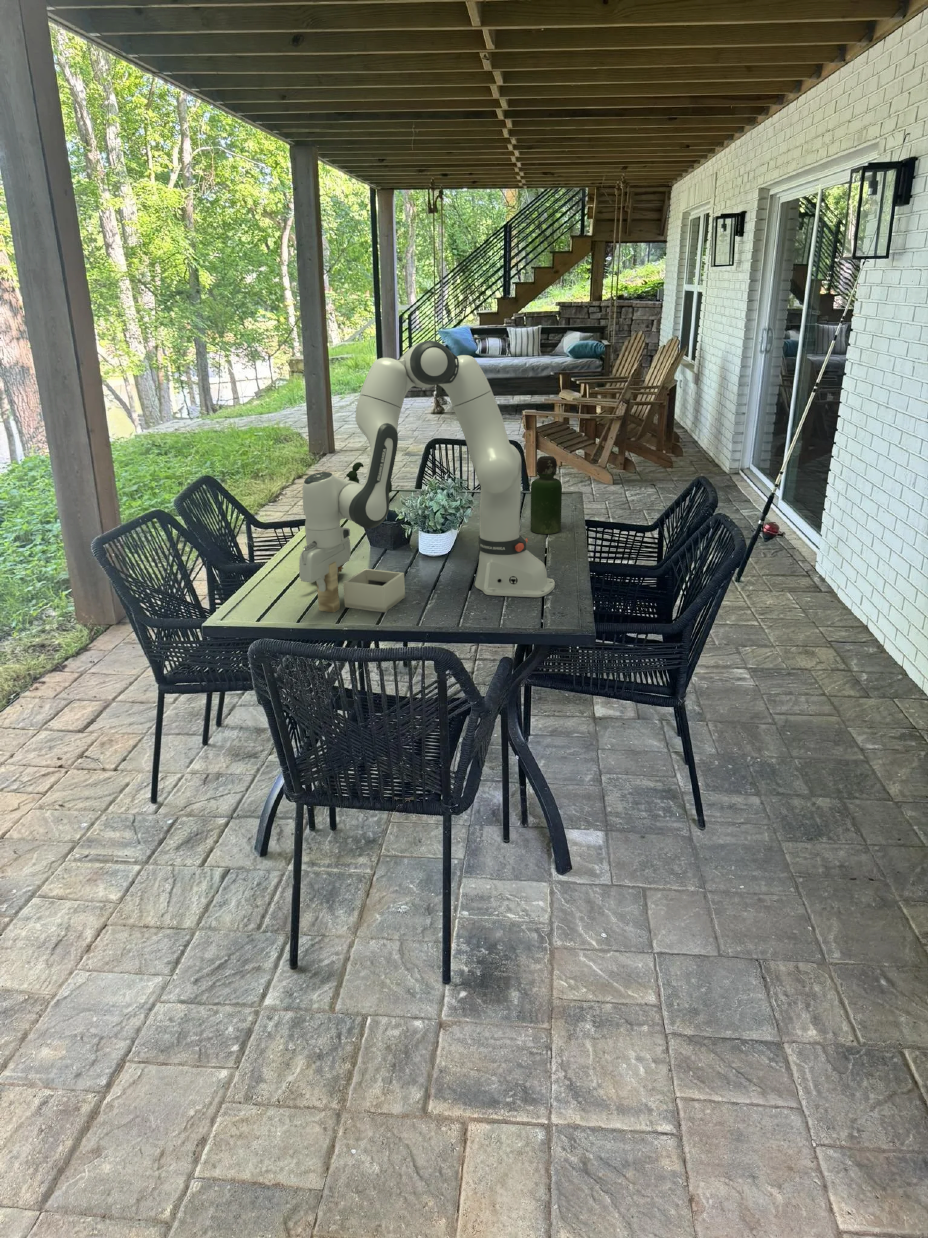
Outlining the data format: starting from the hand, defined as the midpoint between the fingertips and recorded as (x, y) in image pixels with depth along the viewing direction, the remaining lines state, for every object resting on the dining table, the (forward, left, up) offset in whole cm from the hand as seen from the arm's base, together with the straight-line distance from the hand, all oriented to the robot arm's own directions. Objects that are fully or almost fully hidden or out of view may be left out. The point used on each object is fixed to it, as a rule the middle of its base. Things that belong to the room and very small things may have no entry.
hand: (327, 587), depth 226 cm
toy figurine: (+42, -104, -6) cm, 112 cm away
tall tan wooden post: (0, 0, -6) cm, 6 cm away
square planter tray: (-9, -9, -6) cm, 14 cm away
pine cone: (+12, -17, -6) cm, 22 cm away
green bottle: (-32, -90, -6) cm, 96 cm away
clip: (-9, -9, -6) cm, 14 cm away
